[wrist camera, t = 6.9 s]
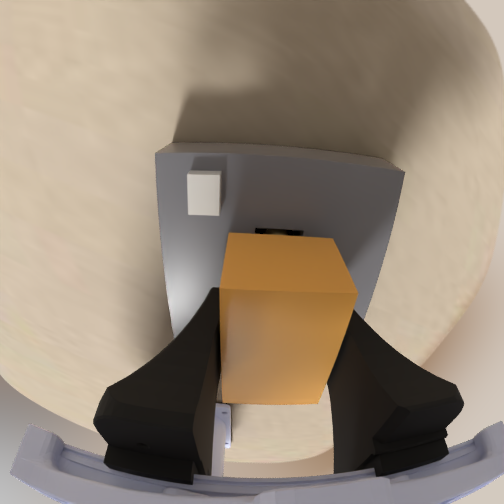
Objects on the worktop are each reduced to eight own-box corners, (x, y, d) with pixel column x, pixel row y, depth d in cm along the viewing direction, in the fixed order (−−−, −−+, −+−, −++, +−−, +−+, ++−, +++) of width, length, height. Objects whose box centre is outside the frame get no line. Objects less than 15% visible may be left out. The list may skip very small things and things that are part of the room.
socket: (336, 340, 19) (346, 376, 16) (185, 335, 19) (176, 371, 16) (382, 158, 13) (411, 175, 10) (171, 142, 13) (150, 156, 10)
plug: (303, 319, 16) (317, 403, 11) (230, 316, 16) (222, 402, 11) (322, 217, 13) (358, 293, 8) (232, 212, 13) (219, 288, 8)
